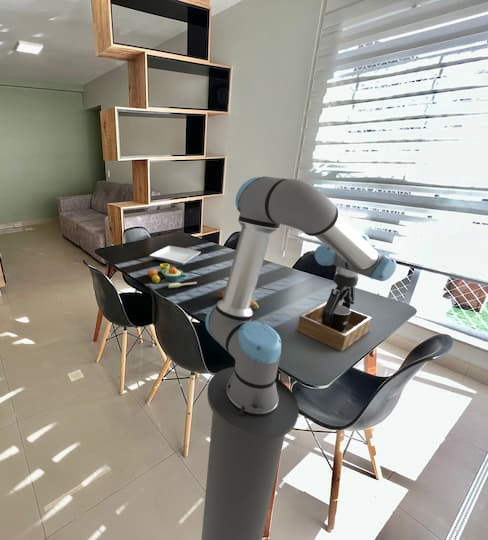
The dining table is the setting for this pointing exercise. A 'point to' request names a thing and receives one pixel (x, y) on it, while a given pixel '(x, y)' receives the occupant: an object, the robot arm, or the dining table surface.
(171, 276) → the toy juicer set
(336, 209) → the robot arm
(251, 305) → the croissant
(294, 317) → the dining table surface
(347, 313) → the mug
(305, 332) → the crate
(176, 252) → the square plate
